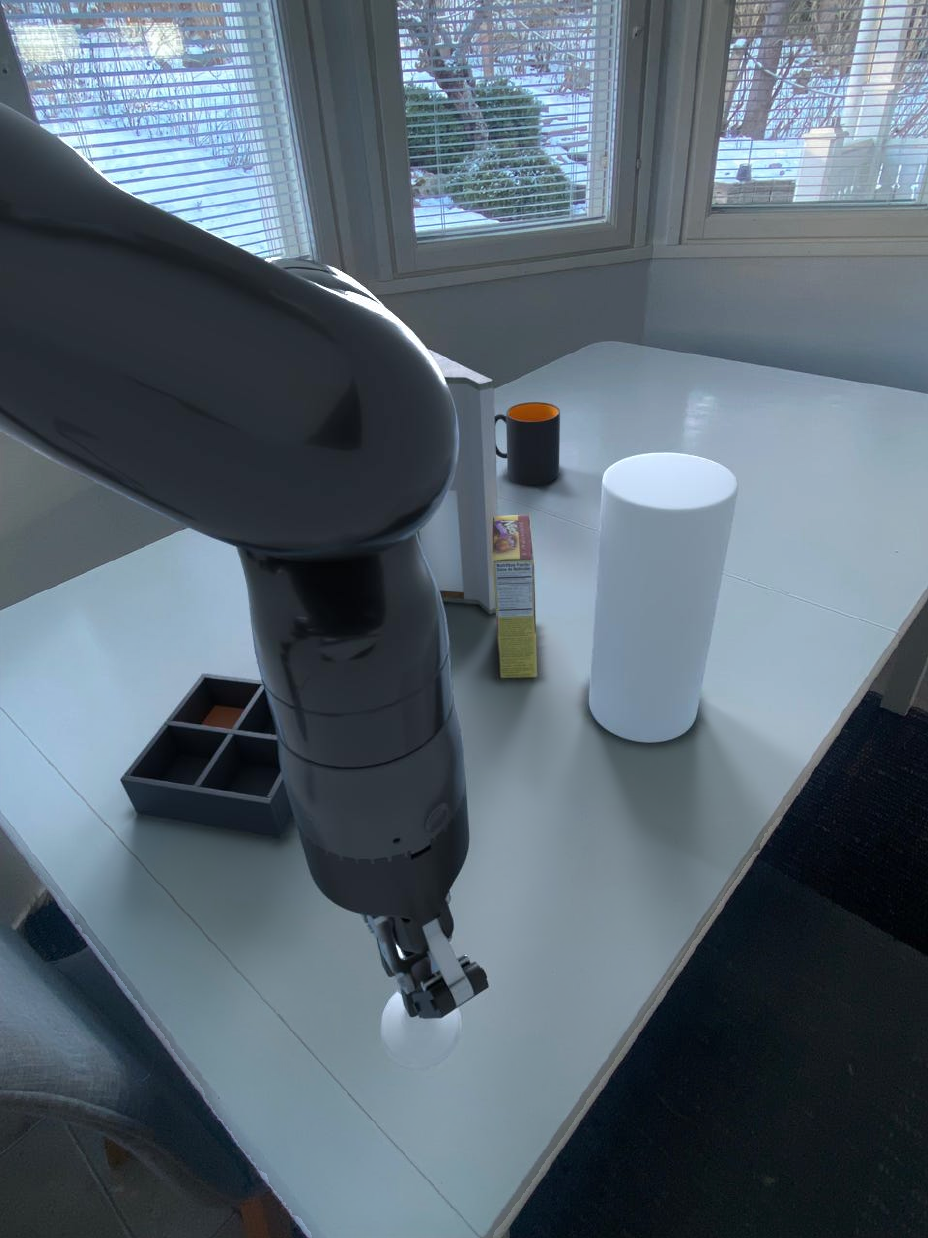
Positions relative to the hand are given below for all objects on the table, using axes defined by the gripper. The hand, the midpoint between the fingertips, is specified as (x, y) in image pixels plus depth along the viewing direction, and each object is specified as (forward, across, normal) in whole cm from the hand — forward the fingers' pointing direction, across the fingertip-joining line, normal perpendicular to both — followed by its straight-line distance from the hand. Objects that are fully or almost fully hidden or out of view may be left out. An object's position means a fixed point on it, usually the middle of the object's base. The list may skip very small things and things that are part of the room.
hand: (413, 983), depth 41 cm
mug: (+11, -69, +57) cm, 90 cm away
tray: (+11, -33, -2) cm, 35 cm away
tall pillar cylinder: (+11, -18, +35) cm, 41 cm away
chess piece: (+5, 0, 0) cm, 5 cm away
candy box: (+11, -32, +29) cm, 45 cm away
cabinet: (+11, -50, +28) cm, 58 cm away
